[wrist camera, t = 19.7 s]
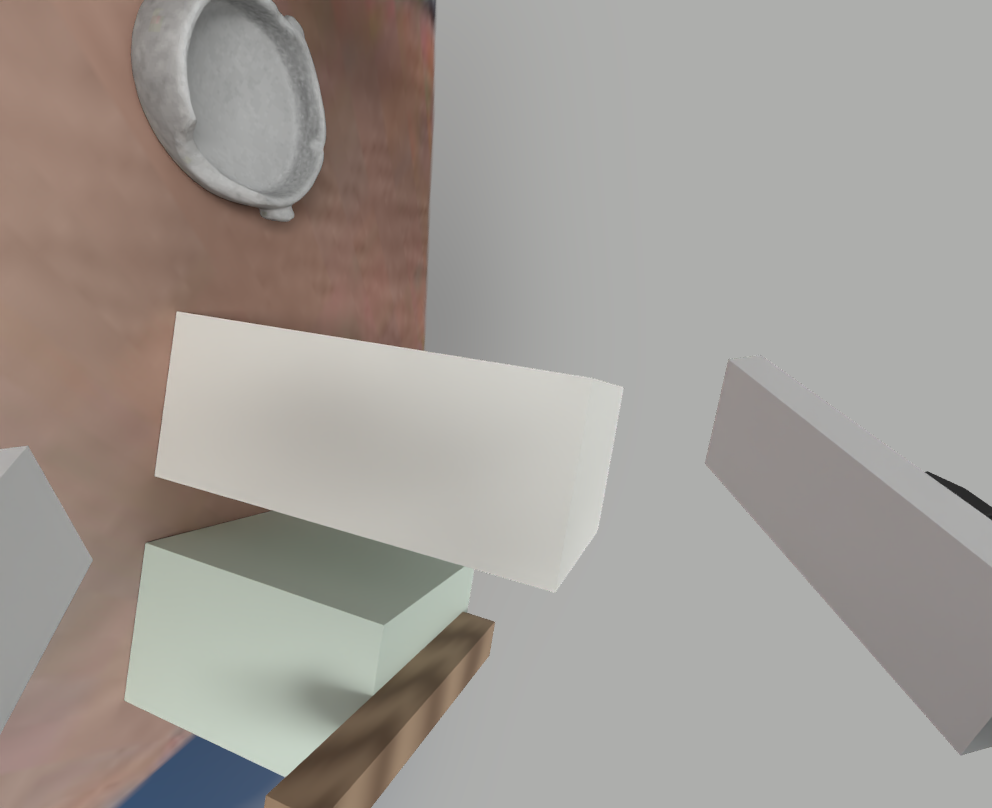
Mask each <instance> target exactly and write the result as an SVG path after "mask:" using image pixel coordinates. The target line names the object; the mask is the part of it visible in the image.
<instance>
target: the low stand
mask: <svg viewBox="0 0 992 808" xmlns="http://www.w3.org/2000/svg"><path fill="white" fill-rule="evenodd" d="M473 575H474V569H472V568H468V567H465V566H462V565H458V564H455V563H451V562H448V561H444V560H441V559H438V558H434V557H431V556H427V555H424V554H420V553H417V552H413V551H410V550H407V549H403V548H400V547H396V546H393V545H389V544H386V543H383V542H379V541H376V540H372V539H369V538H365V537H362V536H358V535H355V534H352V533H348V532H345V531H341V530H338V529H334V528H331V527H328V526H324V525H321V524H317V523H314V522H310V521H307V520H303V519H300V518H297V517H293V516H290V515H286V514H283V513H279V512H276V511H269V512H265V513H261V514H257V515H253V516H249V517H246V518H242V519H238V520H234V521H230V522H226V523H222V524H218V525H214V526H210V527H206V528H202V529H198V530H195V531H191V532H187V533H183V534H179V535H175V536H171V537H167V538H163V539H159V540H155V541H151V542H147V543H145V551H144V558H143V566H142V573H141V580H140V588H139V595H138V603H137V610H136V617H135V625H134V632H133V639H132V647H131V654H130V662H129V669H128V676H127V684H126V691H125V699H124V701H126V702H128V703H130V704H133V705H135V706H137V707H139V708H141V709H143V710H145V711H147V712H149V713H151V714H154V715H156V716H158V717H160V718H162V719H164V720H166V721H168V722H170V723H172V724H175V725H177V726H179V727H181V728H183V729H185V730H187V731H189V732H191V733H193V734H196V735H198V736H200V737H202V738H204V739H206V740H208V741H210V742H212V743H214V744H217V745H219V746H221V747H223V748H225V749H227V750H229V751H231V752H233V753H236V754H238V755H240V756H242V757H244V758H246V759H248V760H250V761H252V762H254V763H257V764H259V765H261V766H263V767H265V768H267V769H269V770H271V771H273V772H275V773H278V774H280V775H282V776H284V777H286V776H287V775H288V774H290V773H291V772H292V771H293V770H294V769H295V768H296V767H297V766H298V765H299V764H300V763H301V762H302V761H303V760H305V759H306V758H307V757H308V756H309V755H310V754H311V753H312V752H313V751H314V750H315V749H316V748H317V747H318V746H320V745H321V744H322V743H323V742H324V741H325V740H326V739H327V738H328V737H329V736H330V735H331V734H332V733H333V732H335V731H336V730H337V729H338V728H339V727H340V726H341V725H342V724H343V723H344V722H345V721H346V720H347V719H348V718H350V717H351V716H352V715H353V714H354V713H355V712H356V711H357V710H358V709H359V708H360V707H361V706H362V705H363V704H365V703H366V702H367V701H368V700H369V699H370V698H371V697H372V696H373V695H374V694H375V693H376V692H377V691H378V690H379V689H381V688H382V687H383V686H384V685H385V684H386V683H387V682H388V681H389V680H390V679H391V678H392V677H393V676H394V675H396V674H397V673H398V672H399V671H400V670H401V669H402V668H403V667H404V666H405V665H406V664H407V663H408V662H409V661H411V660H412V659H413V658H414V657H415V656H416V655H417V654H418V653H419V652H420V651H421V650H422V649H423V648H424V647H426V646H427V645H428V644H429V643H430V642H431V641H432V640H433V639H434V638H435V637H436V636H437V635H438V634H439V633H441V632H442V631H443V630H444V629H445V628H446V627H447V626H448V625H449V624H450V623H451V622H452V621H453V620H454V619H456V618H457V617H458V616H459V615H460V614H461V613H462V612H466V613H467V610H468V605H469V599H470V593H471V586H472V581H473Z"/></svg>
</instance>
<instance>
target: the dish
mask: <svg viewBox="0 0 992 808" xmlns="http://www.w3.org/2000/svg"><path fill="white" fill-rule="evenodd" d="M131 61H132V71H133V76H134V81H135V85H136V89H137V93H138V97H139V100H140V102H141V105H142V108H143V111H144V113H145V115H146V117H147V119H148V121H149V123H150V125H151V127H152V129H153V131H154V133H155V134H156V136H157V138H158V139H159V141H160V142H161V144H162V145H163V147H164V148H165V149H166V151H167V152H168V154H169V155H170V156H171V157H172V159H173V160H174V161H175V162H176V163H177V164H178V165H179V167H180V168H181V169H182V170H183V171H184V172H185V173H186V174H187V175H188V176H190V177H191V178H192V179H193V180H194V181H195V182H196V183H198V184H199V185H200V186H202V187H203V188H205V189H206V190H208V191H209V192H211V193H213V194H215V195H217V196H219V197H221V198H224V199H227V200H229V201H233V202H236V203H239V204H243V205H248V206H252V207H257V208H259V210H260V215H261V216H262V217H263V218H265V219H268V220H273V221H282V222H288V221H290V220H291V219H293V218H294V212H293V210H292V204H294V203H296V202H297V201H299V200H300V199H301V198H302V197H303V196H304V195H305V194H306V193H307V192H308V191H309V190H310V189H311V187H312V185H313V184H314V182H315V180H316V177H317V176H318V174H319V172H320V170H321V167H322V164H323V160H324V152H323V148H324V144H325V141H326V122H325V113H324V107H323V102H322V97H321V92H320V87H319V83H318V79H317V75H316V71H315V67H314V63H313V60H312V57H311V54H310V51H309V48H308V46H307V43H306V41H305V36H304V32H303V29H302V27H301V25H300V24H299V23H298V22H297V21H296V20H295V19H294V18H293V17H292V16H289V15H286V16H283V15H282V14H281V13H280V12H279V10H278V8H277V6H276V5H275V3H274V2H273V1H272V0H144V1H143V3H142V5H141V6H140V9H139V11H138V14H137V17H136V21H135V24H134V28H133V33H132V47H131Z"/></svg>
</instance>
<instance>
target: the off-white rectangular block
mask: <svg viewBox="0 0 992 808" xmlns="http://www.w3.org/2000/svg"><path fill="white" fill-rule="evenodd" d="M622 393H623V387H621V386H617V385H614V384H611V383H607V382H604V381H601V380H597V379H594V378H589V377H583V376H576V375H570V374H563V373H558V372H551V371H545V370H539V369H533V368H526V367H521V366H514V365H508V364H502V363H496V362H489V361H483V360H477V359H471V358H464V357H458V356H452V355H446V354H440V353H433V352H426V351H421V350H415V349H408V348H402V347H396V346H390V345H383V344H377V343H371V342H365V341H358V340H352V339H346V338H340V337H334V336H327V335H321V334H315V333H309V332H302V331H296V330H290V329H284V328H277V327H271V326H265V325H259V324H253V323H246V322H240V321H234V320H228V319H221V318H215V317H209V316H203V315H196V314H190V313H184V312H178V311H177V313H176V321H175V328H174V336H173V343H172V350H171V358H170V365H169V373H168V380H167V387H166V395H165V402H164V409H163V417H162V424H161V432H160V439H159V446H158V454H157V461H156V469H155V476H156V477H159V478H163V479H166V480H169V481H173V482H176V483H180V484H183V485H187V486H190V487H193V488H197V489H200V490H204V491H207V492H211V493H214V494H218V495H221V496H224V497H228V498H231V499H235V500H238V501H242V502H245V503H248V504H252V505H255V506H259V507H262V508H266V509H269V510H273V511H276V512H279V513H283V514H286V515H290V516H293V517H297V518H300V519H303V520H307V521H310V522H314V523H317V524H321V525H324V526H328V527H331V528H334V529H338V530H341V531H345V532H348V533H352V534H355V535H358V536H362V537H365V538H369V539H372V540H376V541H379V542H383V543H386V544H389V545H393V546H396V547H400V548H403V549H407V550H410V551H413V552H417V553H420V554H424V555H427V556H431V557H434V558H438V559H441V560H444V561H448V562H451V563H455V564H458V565H462V566H465V567H468V568H472V569H475V570H479V571H482V572H486V573H489V574H493V575H496V576H499V577H503V578H506V579H510V580H513V581H517V582H520V583H524V584H527V585H530V586H534V587H537V588H541V589H544V590H547V591H551V592H554V593H555V592H556V591H557V589H558V588H559V586H560V585H561V583H562V582H563V580H564V579H565V578H566V576H567V575H568V573H569V572H570V570H571V569H572V567H573V566H574V565H575V563H576V562H577V560H578V559H579V557H580V556H581V554H582V553H583V552H584V550H585V549H586V547H587V546H588V544H589V543H590V541H591V540H592V539H593V537H594V536H595V534H596V533H597V531H598V527H599V521H600V516H601V510H602V505H603V499H604V494H605V488H606V483H607V477H608V471H609V466H610V460H611V455H612V449H613V444H614V438H615V432H616V427H617V421H618V416H619V410H620V405H621V399H622Z"/></svg>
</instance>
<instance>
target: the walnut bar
mask: <svg viewBox="0 0 992 808" xmlns="http://www.w3.org/2000/svg"><path fill="white" fill-rule="evenodd" d="M494 625H495V622H494V621H491V620H488V619H484V618H481V617H478V616H475V615H472V614H469V613H466V612H462V613H461V614H460V615H459V616H458V617H457V618H456V619H454V620H453V621H452V622H451V623H450V624H449V625H448V626H447V627H446V628H445V629H444V630H443V631H442V632H441V633H439V634H438V635H437V636H436V637H435V638H434V639H433V640H432V641H431V642H430V643H429V644H428V645H427V646H426V647H424V648H423V649H422V650H421V651H420V652H419V653H418V654H417V655H416V656H415V657H414V658H413V659H412V660H411V661H409V662H408V663H407V664H406V665H405V666H404V667H403V668H402V669H401V670H400V671H399V672H398V673H397V674H396V675H394V676H393V677H392V678H391V679H390V680H389V681H388V682H387V683H386V684H385V685H384V686H383V687H382V688H381V689H379V690H378V691H377V692H376V693H375V694H374V695H373V696H372V697H371V698H370V699H369V700H368V701H367V702H366V703H365V704H363V705H362V706H361V707H360V708H359V709H358V710H357V711H356V712H355V713H354V714H353V715H352V716H351V717H350V718H348V719H347V720H346V721H345V722H344V723H343V724H342V725H341V726H340V727H339V728H338V729H337V730H336V731H335V732H333V733H332V734H331V735H330V736H329V737H328V738H327V739H326V740H325V741H324V742H323V743H322V744H321V745H320V746H318V747H317V748H316V749H315V750H314V751H313V752H312V753H311V754H310V755H309V756H308V757H307V758H306V759H305V760H303V761H302V762H301V763H300V764H299V765H298V766H297V767H296V768H295V769H294V770H293V771H292V772H291V773H290V774H288V775H287V776H286V777H285V778H284V779H283V780H282V781H281V782H280V783H279V784H278V785H277V786H276V787H275V788H273V789H272V790H271V791H270V792H269V793H268V794H267V795H266V800H265V805H264V808H371V807H372V806H373V804H374V803H375V802H376V801H377V799H378V798H379V797H380V795H381V794H382V793H383V792H384V790H385V789H386V788H387V786H388V785H389V784H390V782H391V781H392V780H393V778H394V777H395V776H396V775H397V774H398V772H399V771H400V770H401V768H402V767H403V766H404V764H405V763H406V762H407V761H408V759H409V758H410V757H411V756H412V754H413V753H414V752H415V750H416V749H417V748H418V747H419V745H420V744H421V743H422V741H423V740H424V739H425V738H426V736H427V735H428V734H429V732H430V731H431V730H432V729H433V727H434V726H435V725H436V723H437V722H438V721H439V720H440V718H441V717H442V715H443V714H444V713H445V712H446V711H447V709H448V708H449V707H450V705H451V704H452V703H453V701H454V700H455V699H456V698H457V696H458V695H459V694H460V693H461V691H462V690H463V689H464V687H465V686H466V685H467V683H468V682H469V681H470V680H471V678H472V677H473V676H474V675H475V673H476V672H477V670H478V669H479V668H480V667H481V665H482V664H483V663H484V662H485V660H486V659H487V658H488V657H489V654H490V648H491V643H492V636H493V631H494Z"/></svg>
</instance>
